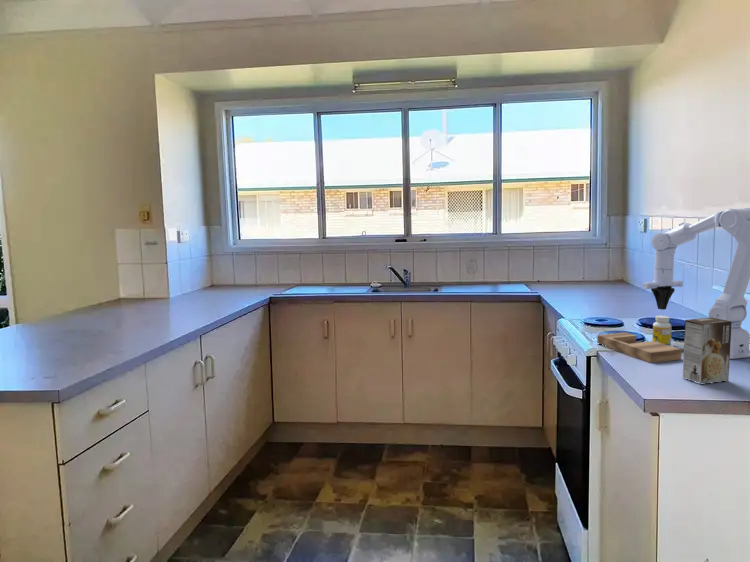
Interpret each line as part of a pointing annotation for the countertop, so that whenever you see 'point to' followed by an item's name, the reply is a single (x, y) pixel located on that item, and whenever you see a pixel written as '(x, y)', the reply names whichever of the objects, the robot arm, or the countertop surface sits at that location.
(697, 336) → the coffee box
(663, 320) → the supplement bottle
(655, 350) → the board
